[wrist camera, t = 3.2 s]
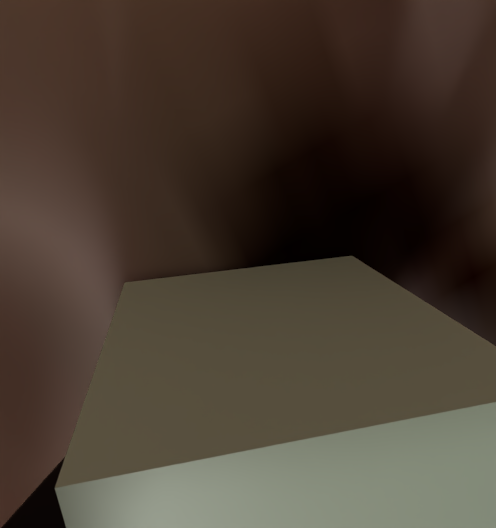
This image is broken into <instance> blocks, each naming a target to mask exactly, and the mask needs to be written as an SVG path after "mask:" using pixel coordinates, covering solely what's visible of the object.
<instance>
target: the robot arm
mask: <svg viewBox="0 0 496 528" xmlns="http://www.w3.org/2000/svg"><path fill="white" fill-rule="evenodd" d="M64 459H65V457H64ZM64 459H63V460H62V461H61V462H60V463H59V464H58V465H57V466H56V467H55V468H54V470H53V471H52V472H51V473H50V474H49V475H48V476H47V477H46V478H45V480H44V481H43V482H42V483H41V484H40V485H39V486H38V487H37V488H36V490H35V491H34V492H33V493H32V494H31V495H30V496H29V497H28V498H27V500H26V501H25V502H24V503H23V504H22V505H21V506H20V507H19V508H18V510H17V511H16V512H15V513H14V514H13V515H12V516H11V517H10V518H9V520H8V521H7V522H6V523H5V524H4V525H3V526H2V527H1V528H66V526H65V522H64V519H63V515H62V512H61V508H60V505H59V501H58V498H57V495H56V491H55V486H56V483H57V480H58V477H59V474H60V471H61V468H62V465H63V462H64Z"/></svg>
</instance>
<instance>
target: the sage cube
mask: <svg viewBox="0 0 496 528" xmlns="http://www.w3.org/2000/svg"><path fill="white" fill-rule="evenodd" d="M55 491H56V495H57V498H58V501H59V505H60V508H61V512H62V515H63V519H64V522H65V526H66V528H496V346H494V345H493V344H491V343H490V342H488V341H486V340H485V339H483V338H482V337H480V336H478V335H477V334H475V333H474V332H472V331H471V330H469V329H467V328H466V327H464V326H463V325H461V324H459V323H458V322H456V321H455V320H453V319H452V318H450V317H448V316H447V315H445V314H444V313H442V312H440V311H439V310H437V309H436V308H434V307H433V306H431V305H429V304H428V303H426V302H425V301H423V300H421V299H420V298H418V297H417V296H415V295H413V294H412V293H410V292H409V291H407V290H406V289H404V288H402V287H401V286H399V285H398V284H396V283H394V282H393V281H391V280H390V279H388V278H387V277H385V276H383V275H382V274H380V273H379V272H377V271H375V270H374V269H372V268H371V267H369V266H368V265H366V264H364V263H363V262H361V261H360V260H358V259H356V258H355V257H353V256H345V257H336V258H328V259H319V260H311V261H302V262H294V263H285V264H277V265H268V266H260V267H251V268H243V269H234V270H226V271H218V272H209V273H201V274H192V275H184V276H175V277H167V278H158V279H150V280H141V281H133V282H125V283H124V286H123V289H122V292H121V295H120V297H119V300H118V303H117V306H116V309H115V312H114V315H113V318H112V321H111V324H110V327H109V330H108V333H107V336H106V339H105V342H104V344H103V347H102V350H101V353H100V356H99V359H98V362H97V365H96V368H95V371H94V374H93V377H92V380H91V383H90V386H89V389H88V392H87V394H86V397H85V400H84V403H83V406H82V409H81V412H80V415H79V418H78V421H77V424H76V427H75V430H74V433H73V436H72V439H71V442H70V444H69V447H68V450H67V453H66V456H65V459H64V462H63V465H62V468H61V471H60V474H59V477H58V480H57V483H56V486H55Z"/></svg>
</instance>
